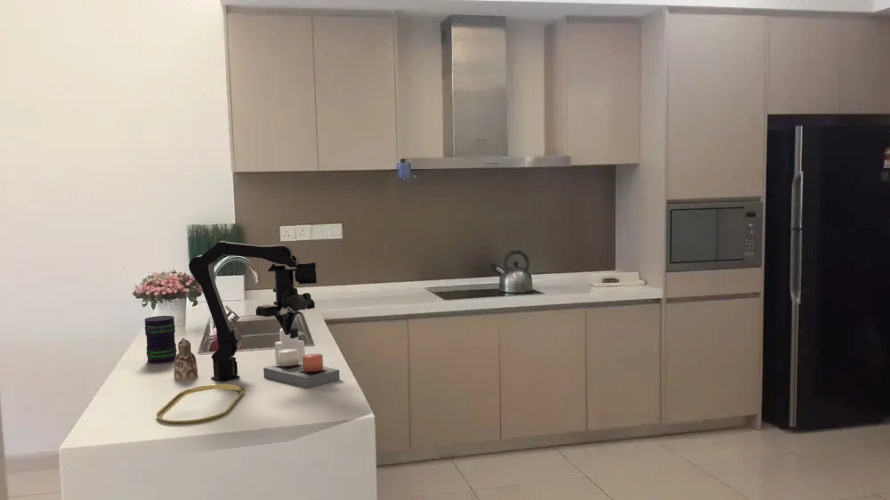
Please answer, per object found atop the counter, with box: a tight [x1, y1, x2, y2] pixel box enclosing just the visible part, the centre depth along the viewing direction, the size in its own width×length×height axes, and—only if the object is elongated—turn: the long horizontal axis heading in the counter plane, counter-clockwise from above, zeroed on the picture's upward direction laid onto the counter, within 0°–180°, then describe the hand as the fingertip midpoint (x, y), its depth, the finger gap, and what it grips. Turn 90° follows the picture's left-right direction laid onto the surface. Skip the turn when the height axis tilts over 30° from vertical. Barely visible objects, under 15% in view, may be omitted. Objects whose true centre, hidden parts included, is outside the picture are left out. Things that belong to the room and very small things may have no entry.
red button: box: [302, 353, 324, 371], centre depth 235 cm, size 6×6×4 cm
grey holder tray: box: [263, 361, 341, 389], centre depth 240 cm, size 12×22×3 cm, turn 48°
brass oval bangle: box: [155, 383, 245, 425], centre depth 215 cm, size 19×35×2 cm, turn 2°
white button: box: [278, 349, 299, 366], centre depth 243 cm, size 6×6×4 cm
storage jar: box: [144, 315, 178, 365], centre depth 270 cm, size 10×10×15 cm
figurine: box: [173, 338, 199, 380], centre depth 247 cm, size 7×7×12 cm
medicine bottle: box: [274, 326, 306, 364], centre depth 261 cm, size 7×7×12 cm
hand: (287, 334), depth 243 cm, fingers closed
